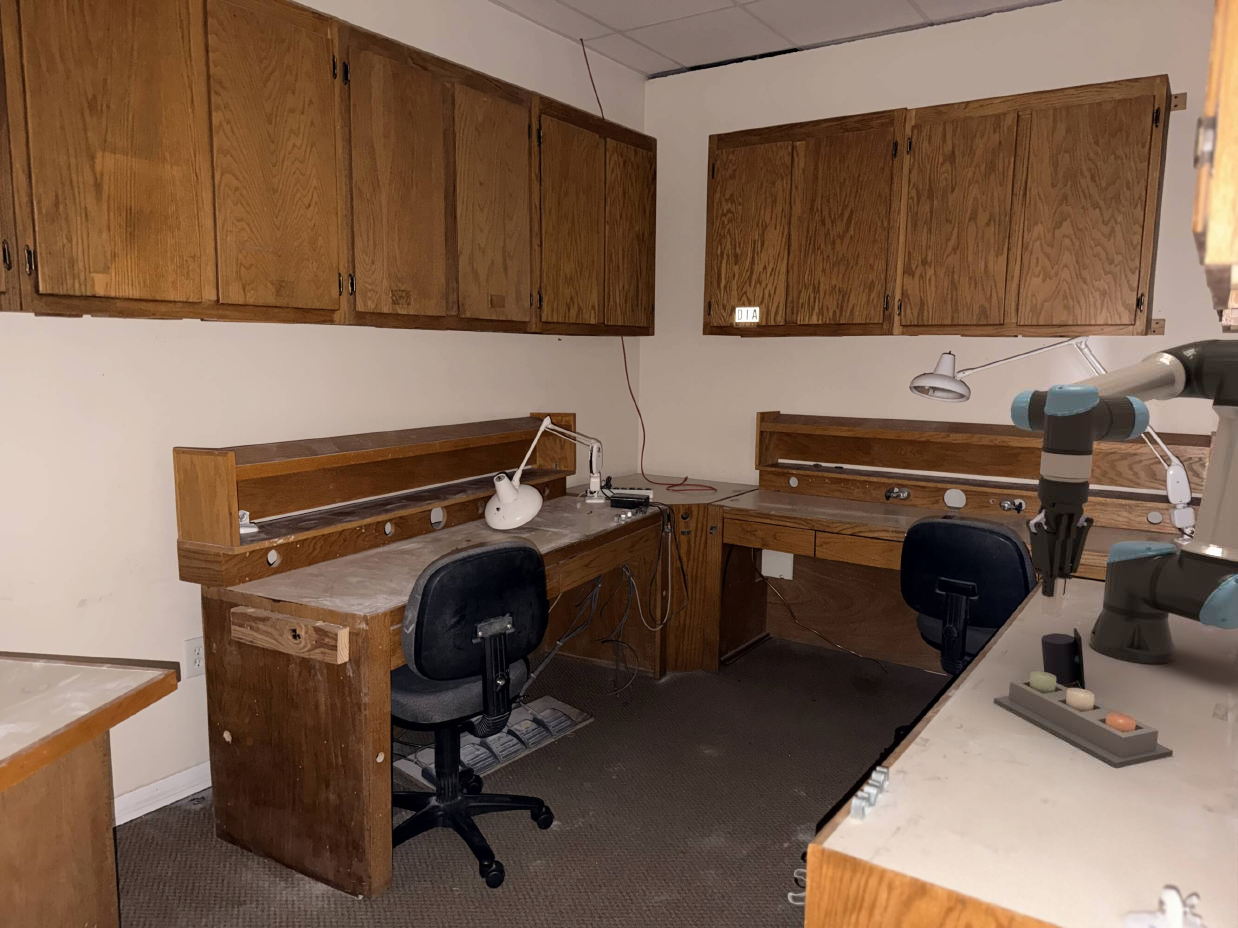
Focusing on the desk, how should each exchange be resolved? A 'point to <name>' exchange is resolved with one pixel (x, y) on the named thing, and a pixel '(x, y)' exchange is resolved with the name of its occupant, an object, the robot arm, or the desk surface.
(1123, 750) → the control panel
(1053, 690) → the sage button
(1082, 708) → the cream button
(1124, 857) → the desk surface
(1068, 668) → the speaker
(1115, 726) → the terracotta button
